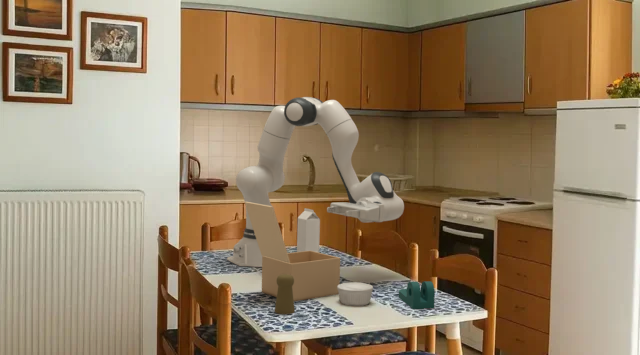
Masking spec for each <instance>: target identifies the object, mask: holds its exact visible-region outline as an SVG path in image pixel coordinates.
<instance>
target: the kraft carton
mask: <svg viewBox="0 0 640 355" xmlns="http://www.w3.org/2000/svg"><path fill="white" fill-rule="evenodd" d="M287 253H288V256H289V260H290V263H287V262H283V261H280V260H276V259H272V258H269V257H265V256H262V267H261V293H263V294H266V295H269V296H272V297H275V298H277V292H278V285H277V277H278V276H279V275H282V274H288V275H292V276H293V278H294V284H293V286H292V290H293V299H294V303H295V302H299V301H304V300H312V299H317V298H323V297H328V296H336V295H339V293H338V289H337V286H338V285H339V284H341V257H338V256H334V255H330V254H326V253H322V252H319V253H318V252H314V251H302V252H297V251H296V252H287Z"/></svg>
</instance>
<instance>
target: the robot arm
mask: <svg viewBox="0 0 640 355" xmlns="http://www.w3.org/2000/svg"><path fill="white" fill-rule="evenodd" d="M317 125H320V127H321V128H322V129H323V131H324V133H325V135H326V136H327V138H328V140H329V143H330V145H331V154H332V155H331V157H332V160H333V162H334V163H333V164H334V165H335V168H336V170H337V172H338V175H339V177H340V179H341V181H342V184H343V186H344V188H345V191H346V195H347V198H348V201H349V202H343V201H342V202H340V201H339V202H331V203H330V206H328V207H327V208H326V212H327V213H331V214H334V215H335V214H336V215H341V216H345V217H352V218H355V219H358V221H359V222H361V223H374V222H375V223H383V222H388V221H394V220H398V219H399V218H400V217H401V216H402V215H403V213H404V210H405V203H404V201H403V199H402V198H401V197H399V196H398V195H397V194H396V192H395V191H394V188H393V187H394V186H393V183H392V181H391V179H390V177H389V176H387V175H386V174H385V173H383V172H380V171H374V172H373V173H370V175H368V176H367V177H366V178H365V179H363V180H362V181H360V180H359V178H358V176H357V173H356V171H355V169H354V167H353V163H352V156H353V153H354V150H355V148H356V146H357V144H358V142H359V138H360V137H359V136H360V134H359V133H360V132H359V130H358V128H357V125H356V124H355V122H354V120H353V119H352V117H351V115H350V114H349V113H348V112H347V110H346V109H345V108H344V107H343V105H342V104H341V103H340V102H339V101H337V100H336V99H329V100H326V101H323V100H320V98H317V97H311V96H303V97H294V98H292V99H290V100H289V101H287V103H285V105H277V106H275V107H273V109H272V110H271V112H270V113H269V115H268V117H267V120H266V121H265V125H264V127H263V130H262V132H261V135H260V137H259V141H258V143H257V144H258V145H257V151H258V153H259V158H258V163H257V165H251V166H246V167H244V168H243V169H241V170H239V171H238V173H237V174H236V177H235V184H236V187H237V189H238V191H240V192H241V194H242V197H243V201H244V203H245V202H251V203H257V204H262V205H268V206H273V205H272V203H271V201H270V197H269V196H270V195H269V193H273V192H275V191H277V190H279V189H281V188H282V186H284V184H285V181H286V177H285V176H286V175H285V172H284V163H285V162H284V161H285V155H286V152H287V150H288V146H289V144H290V142H291V138H292V135H293V132H294V130H295V128H296V127H310V126H317ZM273 208H274V209H275V207H274V206H273ZM245 211H246V212H245V221H246V222H245V223H246V224H245V228H243V229H242V232H243V235H242V238H241V239H240V240H238V242H237V243H235V244H234V246H233V252H232V253H233V254H232V255H231V256H228V257H227V258H226V261H228V262H231V263H233V264H235V265H237V266H239V267H255V268H258V267H259V268H262V255H261V252H260V249H259V246H258V242H257V239H256V236H255V233H254V230H253V227H252V224H251V221H250V218H249V215H248V211H247V208H246V207H245Z"/></svg>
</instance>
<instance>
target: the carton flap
mask: <svg viewBox="0 0 640 355" xmlns="http://www.w3.org/2000/svg"><path fill="white" fill-rule="evenodd" d="M244 205H245V209H246V208H247V211H248V215H249V218H250V221H251V224H252V227H253V230H254V233H255V236H256V239H257V242H258V246H259V249H260V252H261V255H262V256H265V257H269V258H272V259H276V260H280V261H283V262H287V263H290V260H289V256H288V253H289V252H288V250H287V247H286V243H285V240H284V238H283V235H282V234H283V233H282V231H281V228H280V225H279V224H280V223H279V222H278V217H277V214H276V212H275V207H274V206H273V205H272V206H268V205H262V204H257V203H251V202H245V201H244ZM273 207H274V208H273Z"/></svg>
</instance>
